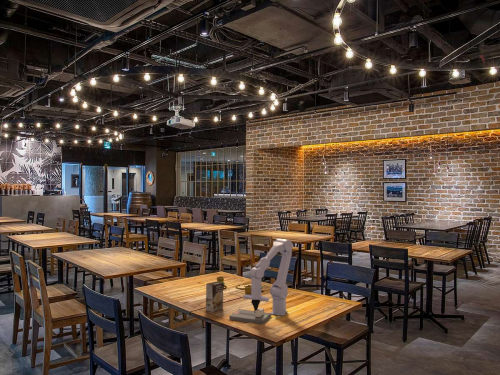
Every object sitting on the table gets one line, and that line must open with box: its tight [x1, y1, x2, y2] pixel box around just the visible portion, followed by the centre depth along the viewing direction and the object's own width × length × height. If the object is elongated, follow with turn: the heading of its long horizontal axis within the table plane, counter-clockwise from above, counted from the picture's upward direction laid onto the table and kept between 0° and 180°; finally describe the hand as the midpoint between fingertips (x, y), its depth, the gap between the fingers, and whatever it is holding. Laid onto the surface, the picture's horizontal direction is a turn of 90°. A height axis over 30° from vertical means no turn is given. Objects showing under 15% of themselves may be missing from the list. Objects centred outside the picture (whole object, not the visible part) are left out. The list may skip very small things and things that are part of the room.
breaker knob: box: [255, 307, 265, 317], centre depth 221 cm, size 3×6×3 cm, turn 158°
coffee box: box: [205, 281, 225, 313], centre depth 238 cm, size 9×6×16 cm
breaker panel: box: [229, 308, 272, 325], centre depth 223 cm, size 20×14×2 cm
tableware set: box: [216, 276, 264, 297], centre depth 290 cm, size 41×28×6 cm
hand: (255, 312), depth 222 cm, fingers closed
